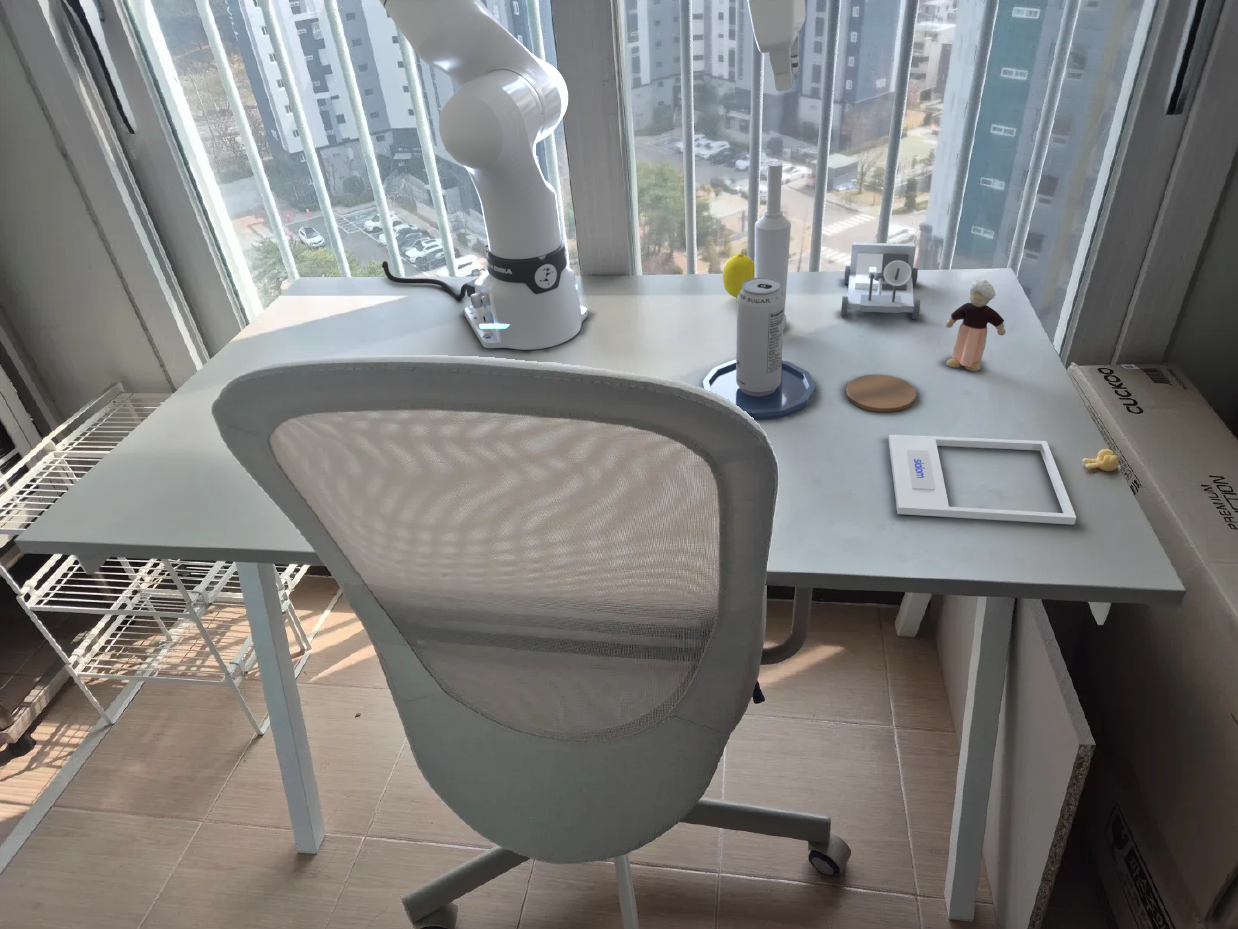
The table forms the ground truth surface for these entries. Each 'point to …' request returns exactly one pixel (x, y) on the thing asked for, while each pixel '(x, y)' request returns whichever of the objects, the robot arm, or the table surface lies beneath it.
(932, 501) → the photo frame
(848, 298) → the toy car
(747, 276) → the lemon
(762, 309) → the energy drink can
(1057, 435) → the table surface
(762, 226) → the bottle
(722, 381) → the plate
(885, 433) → the table surface
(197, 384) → the table surface
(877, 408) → the coaster
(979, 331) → the grandmother figurine
